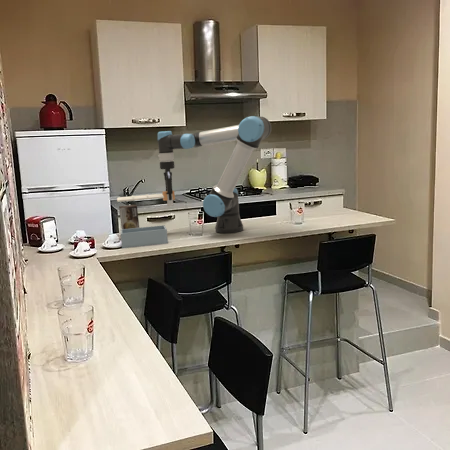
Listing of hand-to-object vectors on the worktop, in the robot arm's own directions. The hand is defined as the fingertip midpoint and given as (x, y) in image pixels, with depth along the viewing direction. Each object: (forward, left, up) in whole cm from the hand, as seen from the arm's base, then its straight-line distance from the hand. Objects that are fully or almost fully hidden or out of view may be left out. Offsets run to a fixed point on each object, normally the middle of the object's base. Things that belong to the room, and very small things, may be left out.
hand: (170, 205), depth 275 cm
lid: (+12, 0, +3) cm, 13 cm away
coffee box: (+22, -14, -16) cm, 31 cm away
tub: (+16, +19, -16) cm, 29 cm away
